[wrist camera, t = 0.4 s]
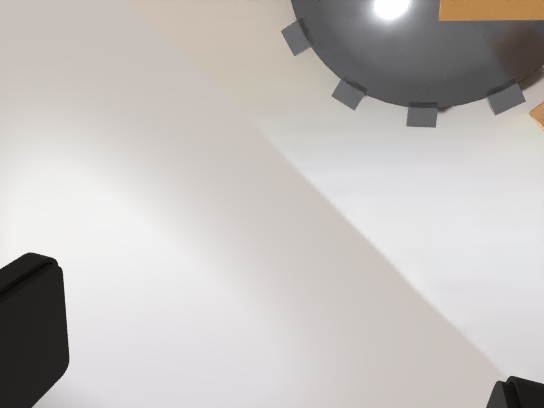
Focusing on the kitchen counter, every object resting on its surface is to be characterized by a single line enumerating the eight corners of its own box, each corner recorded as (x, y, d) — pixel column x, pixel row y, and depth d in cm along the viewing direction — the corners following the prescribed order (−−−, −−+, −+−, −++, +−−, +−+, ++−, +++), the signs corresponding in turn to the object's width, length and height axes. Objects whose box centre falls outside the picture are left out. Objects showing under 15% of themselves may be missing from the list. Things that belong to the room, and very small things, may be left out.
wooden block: (354, -44, 30) (349, -49, 27) (447, -146, 27) (452, -163, 24) (531, 155, 32) (543, 168, 29) (637, 80, 29) (661, 87, 26)
